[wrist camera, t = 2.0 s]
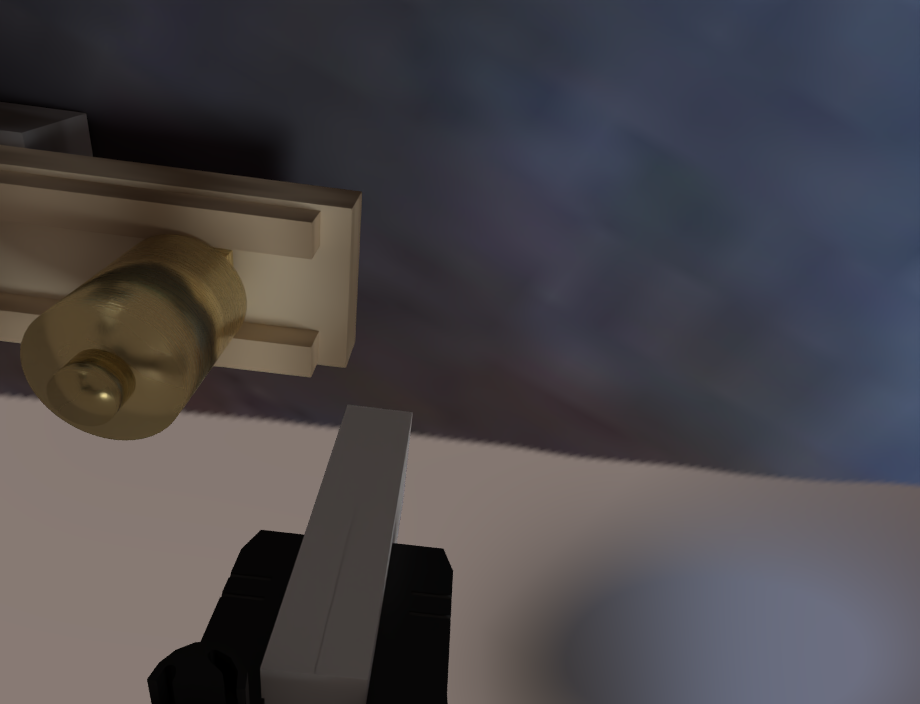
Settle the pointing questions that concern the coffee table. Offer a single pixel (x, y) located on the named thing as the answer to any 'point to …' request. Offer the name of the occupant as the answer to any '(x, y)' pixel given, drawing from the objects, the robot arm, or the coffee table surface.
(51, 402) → the rider
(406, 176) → the coffee table surface
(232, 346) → the stand
